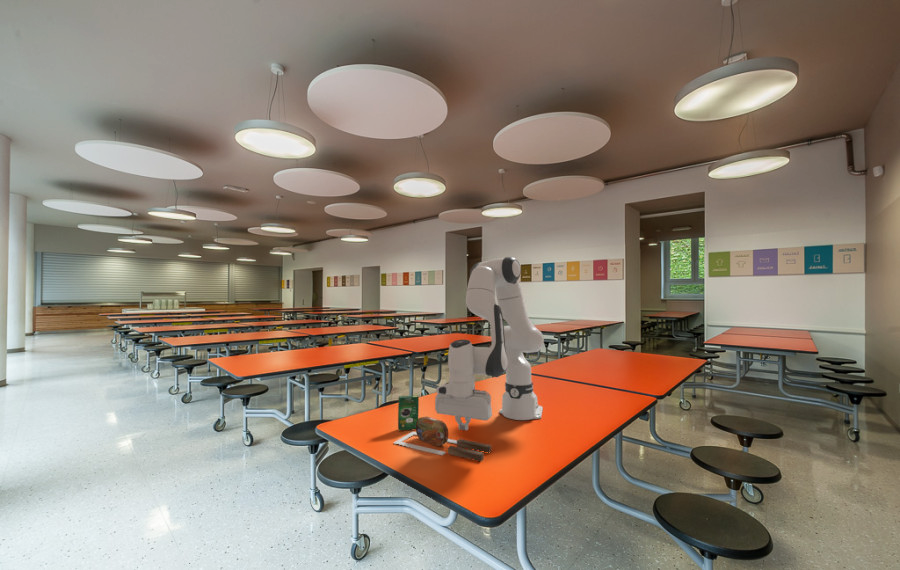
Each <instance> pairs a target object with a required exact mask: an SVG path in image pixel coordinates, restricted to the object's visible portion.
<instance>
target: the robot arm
mask: <svg viewBox="0 0 900 570" xmlns="http://www.w3.org/2000/svg"><path fill="white" fill-rule="evenodd" d="M469 272H470V273H469V276H470V277H469V279H468V283H467V289H466V294H465V304H466V305H465V306H466V307H467V309H468V310H469V312H471V313H472V314H474V315H475V316H476V317H480V318H482V319H484V320H486V321H488V322H489V325H490V335H491V337H490V338H491V339H490V340H491V345H490V346H489V347H486V346H485V347H483V346H481V347H480V346H474V345H473V344H472V342H471V340H468V339H458V340H454V341H452V342H451V343H450V344H449V346H448V347H449V348H448V354H447V355H448V357H447V360H448V362H447V365H448V370H449V371H448V372H449V377H448V382H445V383H443V384H441V385H439V386H437V387H436V388H435V389H436V390H435V391H436V396H435V399H434V400H435V401H434V410H435V412H436V413H437V414H440V415H446V416H453V417H454V419H455V421H456V423H457V425H458V430H462V431H468V430H469V424H470V423H471V421H472V419H473V420H478V421H479V420H480V421H484V422H485V421H489V420H490V419H491V418H492V416H493V410H492V409H493V408H492V398H491V397H492V396H491V394H490V393H489V392H487V391H486V390H479V389H476V385H475V384H476V383H475V381H476V379H475V376H474V375H480V376H489V377H491V378H492V377H493V378H499V377H500V376H502V375H503V374H504V373H505V382H504V383H505V384H504V391H505V392H504V393H503V394H502V398H501V400H502V402H501V408H500V409H499V410H498V413H499V414H502V415H503V417H505V418H507V419H510V420H516V421H529V420H535V419H536V420H538V419H542V416H543V409H544V408H543V406H542V405H539V404H538V396H537V394H535V392H534V381H532V366H531V363H530V362H529V361H528V360H527V359H526V358H525V356H524V353H526V354H529V353H537V352H539V351H540V350H541V349H542V348H543V346H544V342H545V341H544V340H545V339H544V335H543V333H542V331H540V330H539V329H538V328H537V327H536V326H535V325H534V324H533V322H532V321H531V319H530V317H529V316H528V313H527V310H526V307H525V303H524V298H523V293H522V292H523V291H522V289H521V286H520V282H519V279H520V278H521V272H522V267H521V264H520V262H519V261H518V259H516V258H515V257H512V256H506V257H498V258H492V259H489V260H486V261H481V262H476V263H475V264H474V265H472V267H471V269H470V271H469ZM496 299H497V302H496ZM504 321H505V322H506V323H507V324H508V325H504ZM462 418H464V421H465V423H464V422H463V421H462Z"/></svg>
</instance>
